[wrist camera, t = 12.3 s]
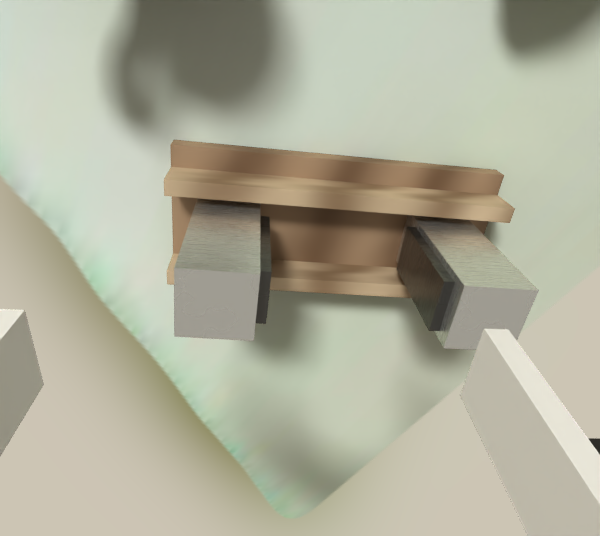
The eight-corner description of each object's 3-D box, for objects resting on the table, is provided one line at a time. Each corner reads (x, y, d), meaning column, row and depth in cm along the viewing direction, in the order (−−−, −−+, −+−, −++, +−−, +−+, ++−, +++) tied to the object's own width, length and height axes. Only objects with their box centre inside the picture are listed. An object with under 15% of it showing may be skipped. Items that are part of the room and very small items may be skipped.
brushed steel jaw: (269, 199, 30) (272, 275, 22) (264, 252, 32) (265, 341, 24) (199, 192, 30) (174, 268, 21) (198, 247, 32) (174, 336, 23)
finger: (463, 214, 32) (538, 290, 23) (447, 263, 34) (512, 351, 25) (400, 209, 31) (453, 285, 23) (388, 259, 33) (433, 347, 25)
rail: (496, 170, 32) (522, 187, 29) (456, 290, 37) (474, 317, 33) (173, 139, 29) (163, 155, 26) (176, 274, 34) (167, 301, 31)
